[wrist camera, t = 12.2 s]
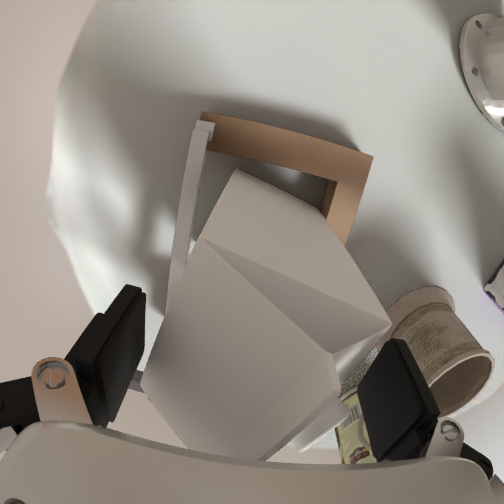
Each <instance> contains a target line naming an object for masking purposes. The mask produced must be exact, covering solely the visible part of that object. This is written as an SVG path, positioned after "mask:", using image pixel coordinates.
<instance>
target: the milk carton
mask: <svg viewBox="0 0 504 504" xmlns="http://www.w3.org/2000/svg"><path fill="white" fill-rule="evenodd" d="M392 324H393V323H392V322H391V321H390V319H389V317H388V315H387V313H386V311H385V310H384V308H383V306H382V305H381V303H380V301H379V300H378V298H377V297H376V295H375V293H374V292H373V290H372V289H371V287H370V285H369V284H368V282H367V281H366V279H365V277H364V276H363V274H362V273H361V271H360V270H359V268H358V267H357V265H356V264H355V262H354V260H353V259H352V257H351V256H350V254H349V253H348V251H347V250H346V248H345V247H344V245H343V244H342V242H341V241H340V240H339V238H338V237H337V235H336V234H335V232H334V231H333V229H332V228H331V226H330V225H329V224H328V222H327V221H326V219H325V218H324V216H323V215H322V214H321V212H320V211H319V209H317V208H316V207H314V206H312V205H310V204H308V203H306V202H304V201H302V200H300V199H298V198H296V197H295V196H293V195H291V194H289V193H287V192H285V191H283V190H281V189H279V188H277V187H275V186H273V185H271V184H269V183H267V182H265V181H262V180H260V179H258V178H256V177H254V176H252V175H250V174H248V173H246V172H244V171H242V170H239V169H237V168H236V169H235V170H234V172H233V173H232V175H231V177H230V179H229V181H228V183H227V184H226V186H225V188H224V190H223V192H222V194H221V196H220V197H219V199H218V201H217V203H216V205H215V207H214V209H213V211H212V213H211V214H210V216H209V218H208V220H207V222H206V224H205V226H204V228H203V230H202V232H201V234H200V236H199V238H198V240H197V242H196V244H195V246H194V248H193V250H192V252H191V254H190V257H189V259H188V261H187V263H186V266H185V268H184V270H183V273H182V275H181V278H180V280H179V282H178V285H177V287H176V290H175V292H174V295H173V297H172V299H171V302H170V304H169V307H168V309H167V312H166V314H165V317H164V319H163V322H162V325H161V327H160V330H159V332H158V335H157V337H156V340H155V343H154V345H153V348H152V351H151V353H150V356H149V359H148V361H147V364H146V367H145V370H144V373H143V375H142V379H141V382H140V386H141V388H142V389H143V391H144V392H145V394H146V395H147V397H148V398H149V399H150V401H151V402H152V403H153V405H154V406H155V407H156V409H157V410H158V411H159V413H160V414H161V416H162V417H163V418H164V419H165V421H166V422H167V423H168V425H169V426H170V427H171V429H172V430H173V431H174V432H175V433H176V435H177V436H178V437H179V438H180V439H181V441H182V442H183V443H184V444H185V446H186V447H187V448H188V449H189V450H194V451H199V452H204V453H209V454H215V455H221V456H227V457H234V458H241V459H249V460H257V461H266V460H267V459H268V458H270V457H271V456H272V455H274V454H275V453H276V452H277V451H279V450H280V449H281V448H282V447H283V446H285V445H286V444H287V443H288V442H290V441H291V443H292V445H293V446H294V447H295V448H296V449H297V450H298V451H299V452H302V451H305V450H306V449H308V448H309V447H311V446H312V445H314V444H315V443H316V442H318V441H319V440H320V439H322V438H323V437H324V436H326V435H327V434H328V433H329V432H331V431H332V430H333V429H334V428H335V427H337V426H338V425H339V424H340V423H341V422H342V421H344V420H345V419H346V418H347V417H348V416H349V414H350V409H349V408H348V407H347V406H346V405H345V404H344V403H342V402H341V401H340V400H339V399H338V397H339V396H340V394H341V384H342V383H343V382H344V381H345V380H346V378H347V377H348V376H349V375H350V374H351V373H352V372H353V371H354V370H355V369H356V368H357V367H358V365H359V364H360V363H361V362H362V361H363V360H364V359H365V357H366V356H367V355H368V354H369V353H370V352H371V350H372V349H373V348H374V347H375V346H376V345H377V343H378V342H379V341H380V340H381V338H382V337H383V336H384V335H385V333H386V332H387V331H388V329H389V328H390V327H391V325H392Z"/></svg>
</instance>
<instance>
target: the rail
mask: <svg viewBox="0 0 504 504" xmlns="http://www.w3.org/2000/svg"><path fill="white" fill-rule="evenodd" d="M216 126H217V123H213V122H207V121H202V120H196V125H195V129H193V131H192V136H191V141H190V146H189V151H188V156H187V161H186V166H185V172H184V177H183V183H182V189H181V194H180V201H179V207H178V213H177V220H176V226H175V233H174V240H173V248H172V255H171V263H170V272H169V281H168V290H167V300H166V310H165V314H166V312H167V309H168V307H169V304H170V302H171V299H172V297H173V295H174V292H175V290H176V287H177V285H178V282H179V280H180V278H181V275H182V273H183V270H184V268H185V266H186V263H187V261H188V254H189V248H190V242H191V235H192V229H193V224H194V218H195V212H196V207H197V201H198V196H199V190H200V185H201V180H202V175H203V170H204V165H205V160H206V155H207V150H208V146H209V141H213V140H214V135H215V131H216Z"/></svg>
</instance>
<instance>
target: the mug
mask: <svg viewBox="0 0 504 504" xmlns="http://www.w3.org/2000/svg"><path fill="white" fill-rule="evenodd" d="M386 313H387V315H388V317H389V319H390V321H391V322H392V323H393V324H392V325H391V327H390V328H389V329H388V331H387V332H386V333H385V335H384V336H383V337H382V338H381V340H380V341H379V342H378V343H377V345H376V347H377V349H378V351H379V352H380V350H381V348H382V347H383V345H384V343H385V342H386V341H389V339H391V338H396V339H403V340H405V341H406V343H407V345H408V347H409V349H410V351H411V353H412V355H413V356H414V358H415V360H416V362H417V364H418V366H419V368H420V370H421V372H422V374H423V376H424V378H425V380H426V382H427V384H428V386H429V389H430V391H431V393H432V395H433V397H434V399H435V401H436V403H437V406H438V408H439V410H440V412H441V414H440V415H439V416H438V417H437V418H438V420H439V419H441V418H445V417H447V416H449V415H452V414H454V413H455V412H457V411H458V410H460V409H462V408H463V407H465V406H466V405H467V404H468V403H469V402H471V401H472V400H473V399H474V398H475V397H476V396H477V395H478V394H479V393H480V392H481V391H482V390H483V388H484V387H485V386H486V384H487V382H488V381H489V379H490V378H491V375H492V373H493V370H494V358H493V357H492V356H491V354H490V353H489V351H487V350H484V349H483V348H482V347H481V345H480V344H479V343H478V341H477V340H476V339H475V338H474V336H473V335H472V334H471V333H470V331H469V330H468V329H467V328H466V326H465V325H464V324H463V323H462V322H461V320H460V319H459V318H458V317H457V316H456V314H455V305H454V301H453V298H452V297H451V296H450V294H449V293H448V292H447V291H446V290H444V289H442V288H439V287H422V288H419V289H416V290H413V291H411V292H409V293H408V294H406V295H405V296H403V297H401V298H400V299H398V300H397V301H396V302H395V303H394V304H393V305H392V306H391V307H390V308H389V309H388V310H387V312H386ZM363 423H364V417H363V414H362V413H361V416H360V418H359V421H358V437H359V440H360V442H361V444H362V445H363V446H364V447H365V448H367V449H369V450H371V451H372V449H371V445H370V444H369V443H368V442H367V441H366V439H365V437H364V433H363Z"/></svg>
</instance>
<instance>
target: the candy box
mask: <svg viewBox="0 0 504 504" xmlns="http://www.w3.org/2000/svg"><path fill="white" fill-rule="evenodd" d="M484 292H485V293H486V294H487V296H488V297H489V298H490V299H491V300H492V301H493V302H494V303H495V305H496V306H497V307H498V308H499V309H500V310H501V311H502V313H503V314H504V261H503V262H502V264H501V265H500V267H499V268H498V270H497V271H496V272H495V274H494V275H493V276H492V278H491V279H490V280H489V282H488V283H487V285H486V286H485V287H484Z"/></svg>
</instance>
